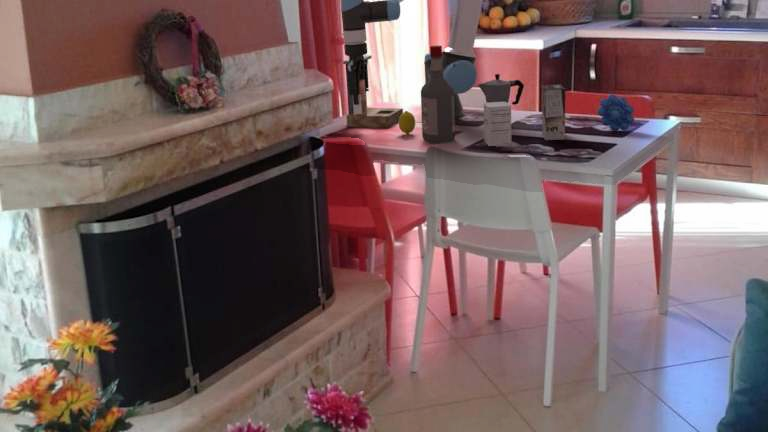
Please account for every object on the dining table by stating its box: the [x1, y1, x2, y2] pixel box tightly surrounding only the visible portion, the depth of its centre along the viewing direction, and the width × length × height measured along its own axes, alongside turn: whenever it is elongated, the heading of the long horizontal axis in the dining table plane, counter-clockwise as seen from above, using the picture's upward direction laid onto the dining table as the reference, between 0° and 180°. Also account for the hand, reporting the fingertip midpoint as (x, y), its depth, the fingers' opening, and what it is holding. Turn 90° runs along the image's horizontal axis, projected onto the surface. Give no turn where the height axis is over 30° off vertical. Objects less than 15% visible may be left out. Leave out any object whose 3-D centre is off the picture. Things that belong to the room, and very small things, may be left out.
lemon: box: [398, 110, 416, 135], centre depth 296 cm, size 6×6×8 cm
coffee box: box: [541, 83, 566, 141], centre depth 281 cm, size 9×6×16 cm
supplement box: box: [483, 102, 512, 147], centre depth 277 cm, size 7×7×13 cm
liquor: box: [420, 45, 456, 144], centre depth 283 cm, size 9×9×30 cm
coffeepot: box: [477, 73, 525, 127], centre depth 299 cm, size 15×9×18 cm, turn 92°
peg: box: [355, 79, 367, 120], centre depth 300 cm, size 4×4×13 cm
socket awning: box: [342, 54, 404, 129], centre depth 315 cm, size 16×14×23 cm
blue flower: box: [596, 93, 635, 132], centre depth 284 cm, size 12×7×12 cm, turn 72°
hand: (360, 112), depth 302 cm, fingers closed on peg, 4 cm apart
